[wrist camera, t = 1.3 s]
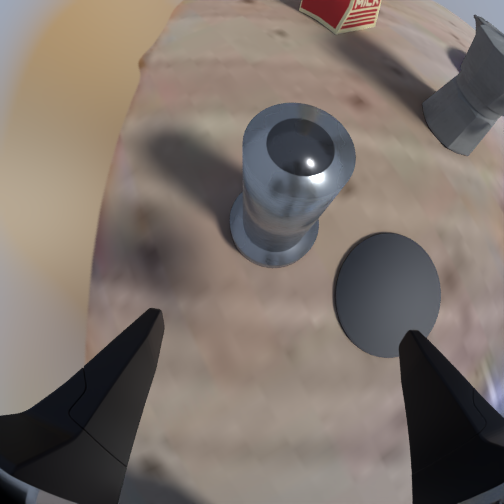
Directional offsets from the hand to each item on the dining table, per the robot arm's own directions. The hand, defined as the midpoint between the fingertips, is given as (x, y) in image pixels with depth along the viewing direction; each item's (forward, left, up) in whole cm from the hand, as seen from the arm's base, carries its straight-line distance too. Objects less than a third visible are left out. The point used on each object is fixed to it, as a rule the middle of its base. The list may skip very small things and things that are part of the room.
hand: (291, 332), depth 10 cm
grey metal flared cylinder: (+6, +4, -13) cm, 15 cm away
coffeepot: (+31, -6, -13) cm, 35 cm away
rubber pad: (+8, -8, -13) cm, 17 cm away
